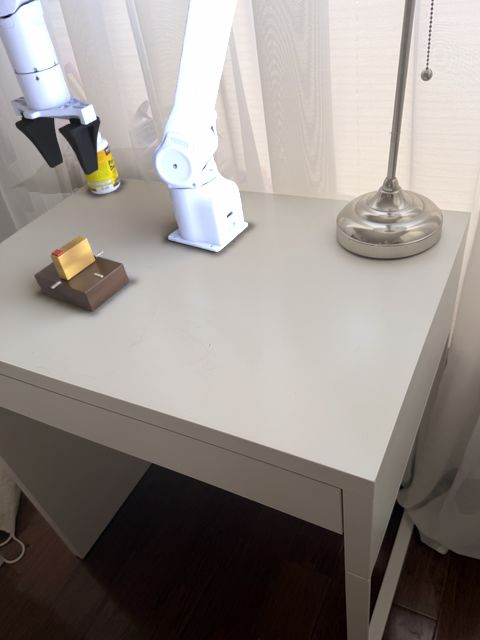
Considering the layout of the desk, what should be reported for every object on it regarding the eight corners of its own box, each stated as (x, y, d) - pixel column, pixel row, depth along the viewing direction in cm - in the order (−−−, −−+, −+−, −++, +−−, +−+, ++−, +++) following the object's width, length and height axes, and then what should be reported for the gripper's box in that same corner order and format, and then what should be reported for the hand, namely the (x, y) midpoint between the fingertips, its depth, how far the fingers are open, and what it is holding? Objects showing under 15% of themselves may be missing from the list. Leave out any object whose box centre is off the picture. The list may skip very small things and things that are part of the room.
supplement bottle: (122, 191, 96) (103, 133, 89) (91, 198, 95) (69, 140, 88) (120, 178, 100) (102, 122, 93) (90, 185, 99) (70, 129, 92)
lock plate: (134, 277, 75) (128, 258, 72) (86, 316, 69) (78, 296, 67) (85, 262, 79) (77, 243, 77) (36, 297, 74) (26, 278, 72)
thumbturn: (87, 258, 74) (78, 234, 71) (95, 260, 73) (86, 236, 71) (59, 277, 71) (48, 253, 69) (68, 280, 70) (57, 256, 68)
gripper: (-23, 74, 71) (20, 173, 80) (49, 80, 64) (88, 187, 73) (19, 57, 75) (56, 153, 84) (92, 61, 68) (124, 165, 77)
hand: (74, 168), depth 79 cm, fingers open, 7 cm apart
